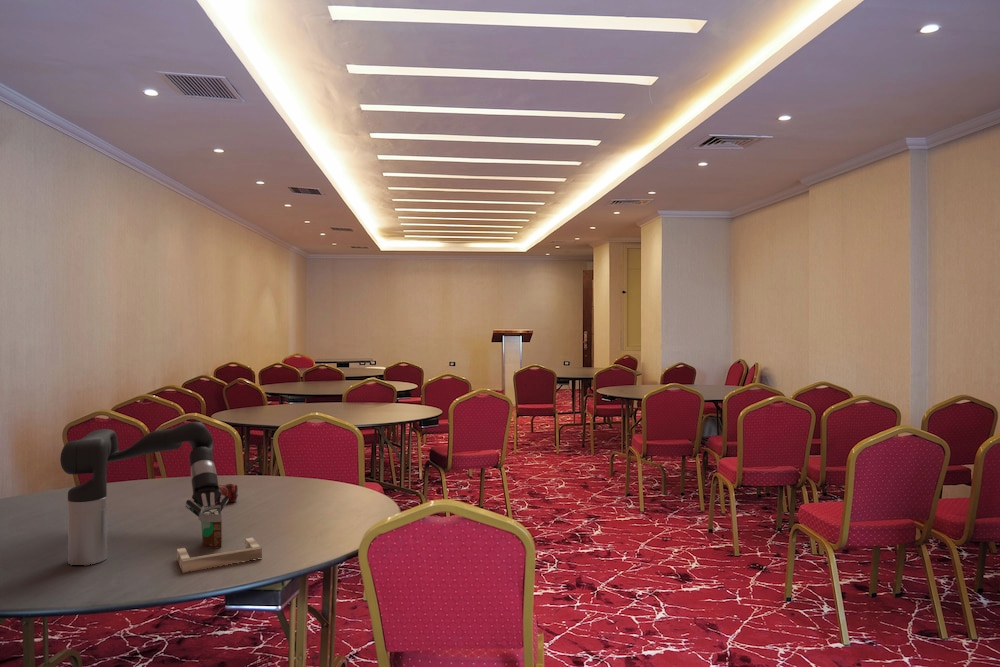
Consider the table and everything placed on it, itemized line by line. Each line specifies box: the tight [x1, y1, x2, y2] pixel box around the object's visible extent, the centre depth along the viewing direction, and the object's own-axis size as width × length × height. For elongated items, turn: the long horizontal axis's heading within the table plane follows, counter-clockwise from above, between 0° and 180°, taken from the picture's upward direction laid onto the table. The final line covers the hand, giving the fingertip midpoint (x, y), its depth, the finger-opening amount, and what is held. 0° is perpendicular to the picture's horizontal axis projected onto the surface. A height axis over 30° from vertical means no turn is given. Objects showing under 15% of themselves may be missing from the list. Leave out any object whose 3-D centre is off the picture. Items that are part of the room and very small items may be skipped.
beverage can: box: [216, 483, 239, 504], centre depth 254 cm, size 7×12×7 cm, turn 106°
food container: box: [198, 504, 223, 548], centre depth 204 cm, size 12×6×10 cm, turn 23°
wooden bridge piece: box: [176, 537, 263, 574], centre depth 190 cm, size 12×20×3 cm, turn 122°
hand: (211, 526), depth 209 cm, fingers closed
